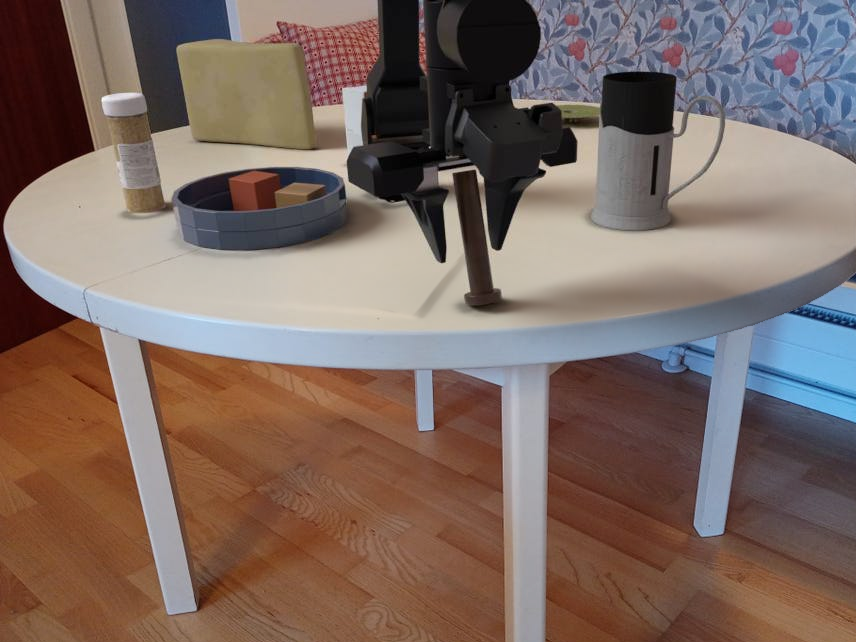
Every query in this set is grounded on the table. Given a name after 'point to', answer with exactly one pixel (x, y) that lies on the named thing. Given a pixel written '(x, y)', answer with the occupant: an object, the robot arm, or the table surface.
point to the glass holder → (639, 149)
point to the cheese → (247, 93)
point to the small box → (353, 115)
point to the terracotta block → (254, 191)
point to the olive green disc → (577, 111)
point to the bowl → (257, 212)
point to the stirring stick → (474, 240)
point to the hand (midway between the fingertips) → (469, 255)
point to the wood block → (299, 194)
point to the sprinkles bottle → (134, 151)
